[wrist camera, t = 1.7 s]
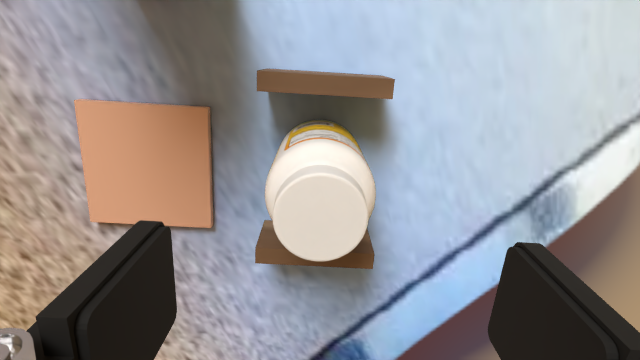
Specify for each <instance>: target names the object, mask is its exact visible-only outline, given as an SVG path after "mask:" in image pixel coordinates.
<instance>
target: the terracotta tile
mask: <svg viewBox="0 0 640 360" xmlns="http://www.w3.org/2000/svg"><path fill="white" fill-rule="evenodd" d="M74 104H75V111H76V118H77V125H78V133H79V140H80V147H81V155H82V162H83V169H84V177H85V184H86V191H87V199H88V206H89V213H90V221H91V222H105V223H125V224H136V223H137V222H138V221H140V220H144V221H161V222H163V223H164V226H183V227H203V228H211V227H212V226H213V191H212V156H211V121H210V107H205V106H188V105H171V104H154V103H137V102H120V101H104V100H87V99H78V100H74Z"/></svg>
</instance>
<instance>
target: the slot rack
mask: <svg viewBox="0 0 640 360" xmlns="http://www.w3.org/2000/svg"><path fill="white" fill-rule="evenodd" d="M394 81H395V79H392V78H388V77H385V76H379V75H363V74H347V73H330V72H314V71H298V70H282V69H263V70H258V71H257V91H265V92H282V93H298V94H315V95H331V96H348V97H364V98H381V99H393V90H394ZM373 262H374V251H373V247H372V244H371V241H370V237H369V234H368V230H367V229H366V232H365V234H364V236H363V238H362V240H361V241H360V242H359V244H358V245H357V246H356V247H355V248H354V249H353V250H352V251H350V252H349V253H348V254H346V255H344V256H342V257H340V258H338V259H334V260H330V261H310V260H306V259H303V258H300V257H298V256H296V255H294V254H293V253H291V252H290V251H289V250H287V249H286V248H285V247H284V245H283V244H282V243H281V242H280V240H279V239H278V237H277V235H276V233H275V230H274V226H273V221H271V220H264V223H263V227H262V230H261V233H260V236H259V239H258V242H257V245H256V252H255V263H263V264H284V265H304V266H324V267H344V268H365V269H373Z"/></svg>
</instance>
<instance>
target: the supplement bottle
mask: <svg viewBox="0 0 640 360" xmlns="http://www.w3.org/2000/svg"><path fill="white" fill-rule="evenodd" d="M375 198H376V189H375V182H374V179H373V176H372V173H371V171H370V168H369V166H368V164H367V162H366V160H365V158H364V156H363V154H362V152H361V150H360V148H359V146H358V144H357V142H356V140H355V139H354V137H353V136H352V135H351V133H350V132H349V131H348V130H347V129H345V128H344V127H343V126H341V125H339V124H337V123H335V122H332V121H328V120H310V121H307V122H304V123H301V124H299V125H298V126H296V127H295V128H293V129H292V130H291V131H290V132H289V133H288V134H287V135H286V136H285V138H284V139H283V141H282V143H281V145H280V147H279V150H278V152H277V154H276V157H275V159H274V162H273V164H272V166H271V169H270V171H269V174H268V177H267V181H266V187H265V201H266V206H267V210H268V213H269V215H270V217H271V219H272V220H273V226H274V230H275V233H276V235H277V237H278V239H279V240H280V242H281V243H282V244H283V245H284V247H285V248H286V249H287V250H289V251H290V252H291V253H293V254H294V255H296V256H298V257H300V258H303V259H306V260H310V261H330V260H334V259H338V258H340V257H342V256H344V255H346V254H348V253H349V252H350V251H352V250H353V249H354V248H355V247H356V246H357V245H358V244H359V242H360V241H361V240H362V238H363V236H364V234H365V232H366V229H367V225H368V220H369V218H370V216H371V214H372V211H373V208H374V204H375Z"/></svg>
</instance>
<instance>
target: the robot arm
mask: <svg viewBox="0 0 640 360" xmlns="http://www.w3.org/2000/svg"><path fill="white" fill-rule="evenodd" d="M176 313H177V305H176V292H175V279H174V266H173V253H172V240H171V230H170V228H169V227H165V226H164V223H163V222H161V221H144V220H140V221H138V222H137V223H136V224H135V225H134V226H133V227H132V228H131V229H130V230H128V231H127V232H126V233H125V234H124V235H123V236H122V237H121V238H120V239H119V240H118V241H117V242H116V243H114V244H113V245H112V246H111V247H110V248H109V249H108V250H107V251H106V252H105V253H104V254H103V255H102V256H100V257H99V258H98V259H97V260H96V261H95V262H94V263H93V264H92V265H91V266H90V267H89V268H88V269H87V270H85V271H84V272H83V273H82V274H81V275H80V276H79V277H78V278H77V279H76V280H75V281H74V282H73V283H71V284H70V285H69V286H68V287H67V288H66V289H65V290H64V291H63V292H62V293H61V294H60V295H59V296H57V297H56V298H55V299H54V300H53V301H52V302H51V303H50V304H49V305H48V306H47V307H46V308H45V309H44V310H42V311H41V312H40V313H39V314H38V315H37V316H36V320H37V322H35V323H34V324H33V325H32V326H31V327H30V328H29V329H28V330H27V331H25V330H23V329H17V328H4V329H0V360H154V358H155V357H156V355H157V353H158V351H159V349H160V347H161V346H162V344H163V342H164V340H165V338H166V336H167V335H168V333H169V331H170V329H171V327H172V325H173V324H174V321H175V318H176ZM488 334H489V338H490V341H491V343H492V344H493V346H494V348H495V350H496V351H497V353H498V355H499V357H500V359H501V360H640V333H639V332H638V331H637V330H636V329H635V328H634V327H633V326H632V325H631V324H629V323H628V322H627V321H626V320H625V319H624V318H623V317H622V316H621V315H619V314H618V313H617V312H616V311H615V310H614V309H613V308H612V307H610V306H609V305H608V304H607V303H606V302H605V301H604V300H603V299H602V298H601V297H599V296H598V295H597V294H596V293H595V292H594V291H593V290H592V289H591V288H589V287H588V286H587V285H586V284H585V283H584V282H583V281H582V280H580V279H579V278H578V277H577V276H576V275H575V274H574V273H573V272H572V271H570V270H569V269H568V268H567V267H566V266H565V265H564V264H563V263H562V262H560V261H559V260H558V259H557V258H556V257H555V256H554V255H553V254H552V253H550V252H549V251H548V250H547V249H546V248H545V247H544V246H543V245H541V244H539V243H522V242H517V243H516V244H515V245H514V246H513V247H510V248H509V249H508V250H507V253H506V257H505V261H504V265H503V269H502V273H501V277H500V281H499V285H498V289H497V293H496V297H495V301H494V306H493V309H492V313H491V317H490V321H489V326H488Z"/></svg>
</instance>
